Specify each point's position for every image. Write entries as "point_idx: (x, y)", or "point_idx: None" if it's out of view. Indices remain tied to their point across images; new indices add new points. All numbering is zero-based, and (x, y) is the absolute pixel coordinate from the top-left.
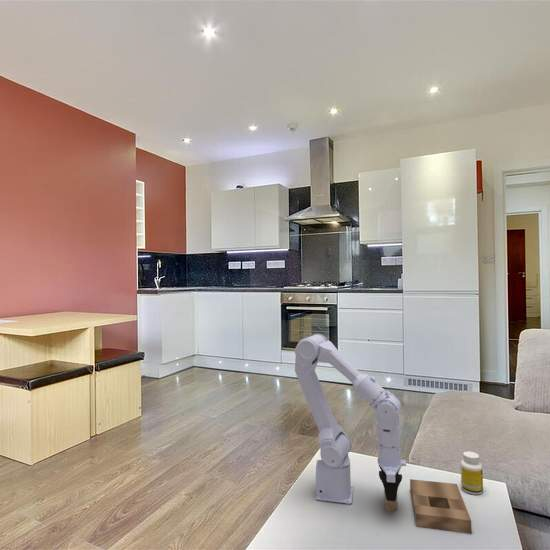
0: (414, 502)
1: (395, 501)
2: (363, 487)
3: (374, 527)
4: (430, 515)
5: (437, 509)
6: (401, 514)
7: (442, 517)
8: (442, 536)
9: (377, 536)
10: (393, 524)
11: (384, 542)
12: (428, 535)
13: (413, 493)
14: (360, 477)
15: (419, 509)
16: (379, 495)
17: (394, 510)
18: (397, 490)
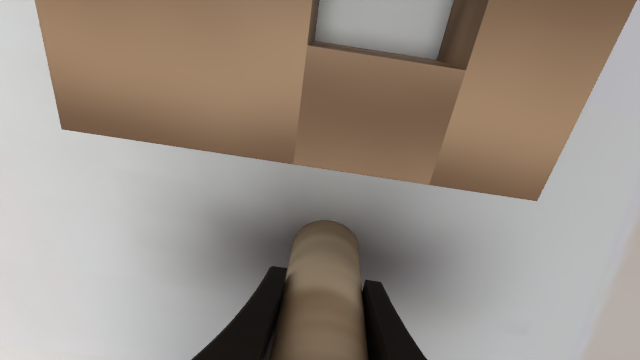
0: (400, 177)
1: (354, 266)
2: (167, 326)
3: (474, 332)
4: (582, 105)
5: (516, 17)
6: (384, 214)
7: (629, 6)
8: (621, 36)
9: (535, 331)
10: (464, 264)
11: (579, 316)
12: (587, 121)
13: (280, 155)
14: (78, 326)
15: (491, 165)
16: (222, 277)
17: (356, 242)
18: (414, 342)
